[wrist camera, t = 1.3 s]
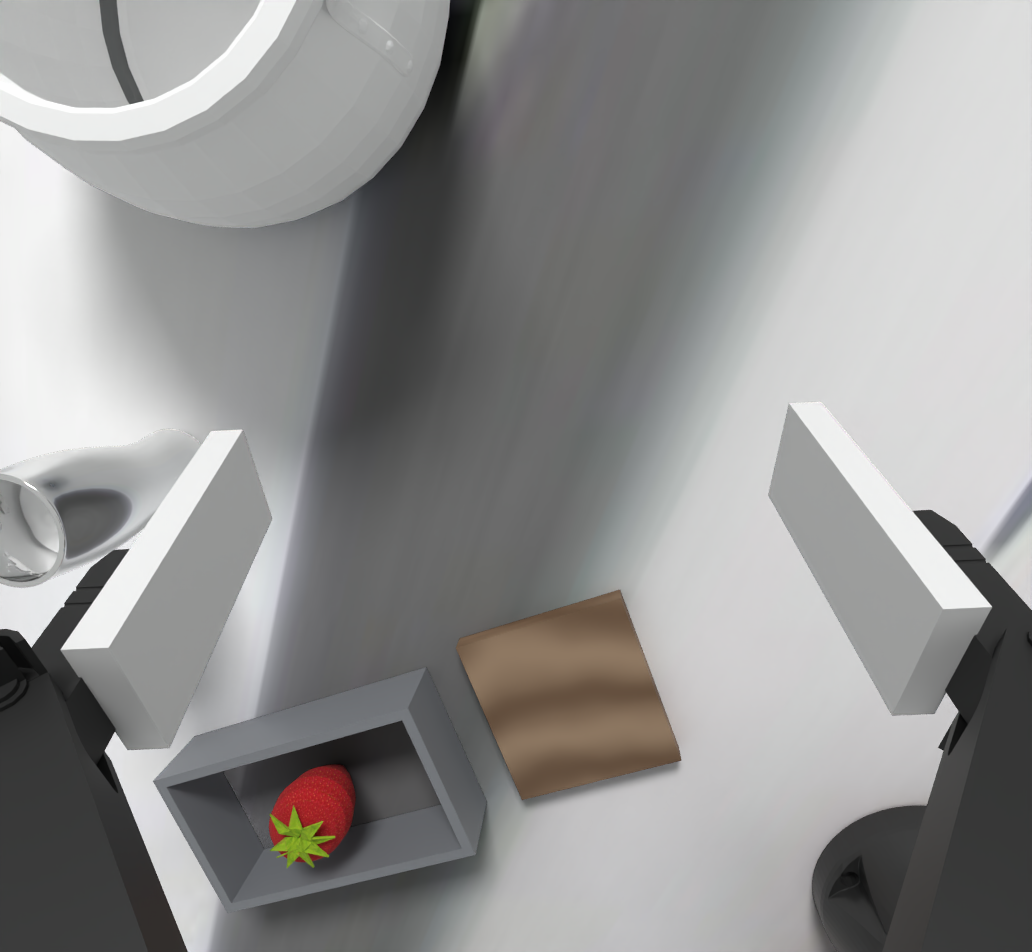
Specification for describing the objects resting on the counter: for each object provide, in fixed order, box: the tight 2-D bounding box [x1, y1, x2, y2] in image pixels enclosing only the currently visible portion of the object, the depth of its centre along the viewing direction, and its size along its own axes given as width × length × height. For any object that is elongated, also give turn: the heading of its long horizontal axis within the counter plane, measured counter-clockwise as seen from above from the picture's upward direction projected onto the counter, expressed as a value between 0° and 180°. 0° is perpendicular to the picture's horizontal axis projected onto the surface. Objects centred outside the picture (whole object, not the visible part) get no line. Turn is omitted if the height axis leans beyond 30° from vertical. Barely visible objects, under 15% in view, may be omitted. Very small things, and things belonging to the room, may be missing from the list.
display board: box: [456, 590, 681, 800], centre depth 50 cm, size 14×13×2 cm
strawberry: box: [269, 764, 356, 868], centre depth 50 cm, size 6×8×10 cm
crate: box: [153, 667, 487, 913], centre depth 52 cm, size 13×22×6 cm, turn 111°
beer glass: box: [0, 429, 202, 588], centre depth 43 cm, size 7×7×15 cm
